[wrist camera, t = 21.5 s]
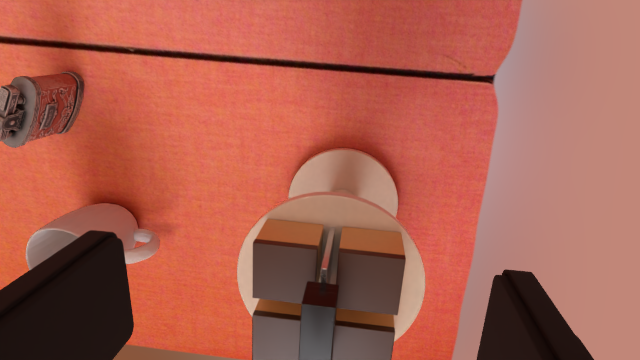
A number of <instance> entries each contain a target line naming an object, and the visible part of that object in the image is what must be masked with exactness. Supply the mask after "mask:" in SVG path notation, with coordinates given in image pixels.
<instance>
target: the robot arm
mask: <svg viewBox="0 0 640 360" xmlns="http://www.w3.org/2000/svg"><path fill="white" fill-rule="evenodd" d="M133 327H134V322H133V315H132V307H131V300H130V292H129V284H128V277H127V269H126V262H125V254H124V246H123V242H122V240H121V239H120V238H118V237H117V235H116V234H115V233H114V232H107V231H97V230H90V231H87V232H86V233H84V234H83V235H81V236H80V237H78V238H77V239H76V240H74V241H73V242H71V243H70V244H68V245H67V246H65V247H64V248H62V249H61V250H59V251H58V252H56V253H55V254H53V255H52V256H50V257H49V258H47V259H46V260H44V261H43V262H41V263H40V264H38V265H37V266H35V267H34V268H32V269H31V270H29V271H28V272H27V273H25V274H24V275H22V276H21V277H19V278H18V279H16V280H15V281H13V282H12V283H10V284H9V285H7V286H6V287H4V288H3V289H1V290H0V360H113V358H114V357H115V356H116V355H117V353H118V352H119V351H120V350H121V348H122V347H123V346H124V345H125V344H126V342H127V341H128V340H129V338H130V337H131V335H132V332H133ZM477 360H594V359H593V358H592V356H591V355H590V353H589V352H588V350H587V349H586V347H585V346H584V345H583V343H582V342H581V340H580V339H579V338H578V337H577V336H576V335H575V334H574V333H573V331H572V330H571V328H570V327H569V325H568V324H567V323H566V321H565V320H564V318H563V317H562V315H561V314H560V312H559V311H558V309H557V308H556V307H555V305H554V304H553V302H552V301H551V299H550V298H549V296H548V295H547V293H546V292H545V291H544V289H543V288H542V286H541V285H540V283H539V282H538V280H537V279H536V277H535V276H534V275H533V274H532V272H525V271H515V270H504V271H503V273H502V275H496V276H495V277H494V279H493V284H492V288H491V293H490V298H489V303H488V308H487V312H486V317H485V322H484V327H483V332H482V337H481V341H480V346H479V351H478V356H477Z"/></svg>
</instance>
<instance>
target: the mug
mask: <svg viewBox="0 0 640 360" xmlns="http://www.w3.org/2000/svg"><path fill="white" fill-rule="evenodd" d="M90 230H97V231H107V232H114V233H115V234H116V235H117V237H118V238H120V239H121V240H122V242H123V246H124V254H125V262H126V264H132V263H136V262H139V261H142V260H145V259H147V258H149V257H151V256H152V255H154V254H155V253H156V252H157V250H158V249H159V245H160V240H159V237H158V235H157V234H156V233H155V232H154V231H151V230H148V229H138V225H137V222H136V219H135V218H134V216H133V215H132V214H131V213H130V212H129V211H128V210H127V209H125V208H124V207H122V206H119V205H116V204H109V203H100V204H94V205H89V206H85V207H82V208H80V209H77V210H75V211H72V212H70V213H67V214H65V215H63V216H61V217H59V218H57V219H55V220H54V221H52V222H50V223H48V224H47V225H45V226H43V227H42V228H40V229H39V230H37V231H36V232H35V233H34V234H33V235H32V236H31V237H30V239H29V241H28V243H27V247H26V260H27V264H28V267H29V270H31V269H32V268H34V267H35V266H37V265H38V264H40V263H41V262H43V261H44V260H46V259H47V258H49V257H50V256H52V255H53V254H55V253H56V252H58V251H59V250H61V249H62V248H64V247H65V246H67V245H68V244H70V243H71V242H73V241H74V240H76V239H77V238H78V237H80V236H81V235H83V234H84V233H86V232H87V231H90ZM137 241H140V242H146V243H147V244H144V245H142V246H140V247H137V248H134V247H135V245H136V242H137Z"/></svg>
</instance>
